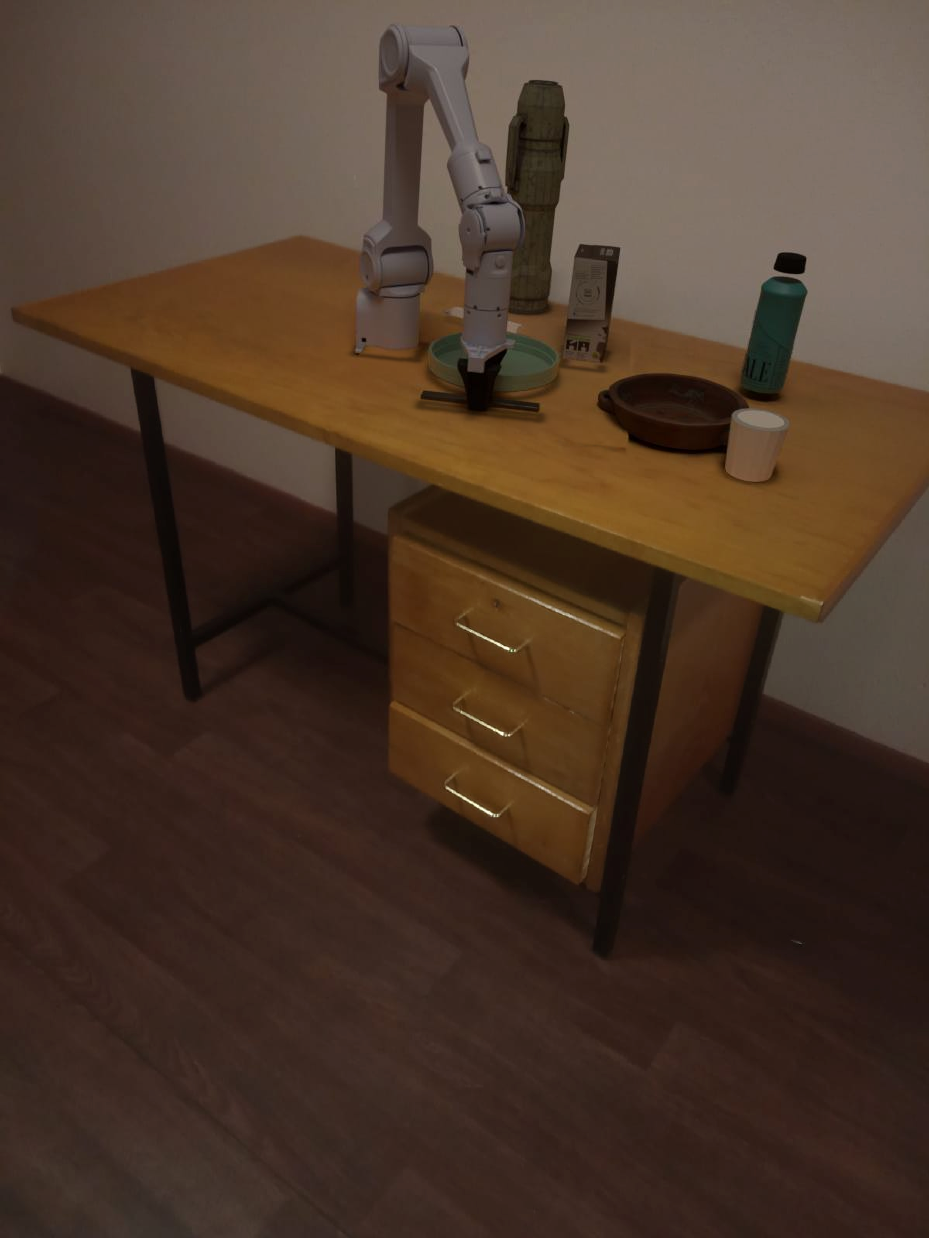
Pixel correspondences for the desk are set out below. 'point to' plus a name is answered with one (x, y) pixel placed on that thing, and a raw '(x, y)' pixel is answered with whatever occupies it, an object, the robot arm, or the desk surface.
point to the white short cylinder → (755, 443)
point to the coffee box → (591, 302)
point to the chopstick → (491, 403)
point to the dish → (673, 409)
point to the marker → (460, 311)
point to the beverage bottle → (775, 327)
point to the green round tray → (519, 369)
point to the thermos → (536, 188)
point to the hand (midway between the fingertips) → (479, 406)
